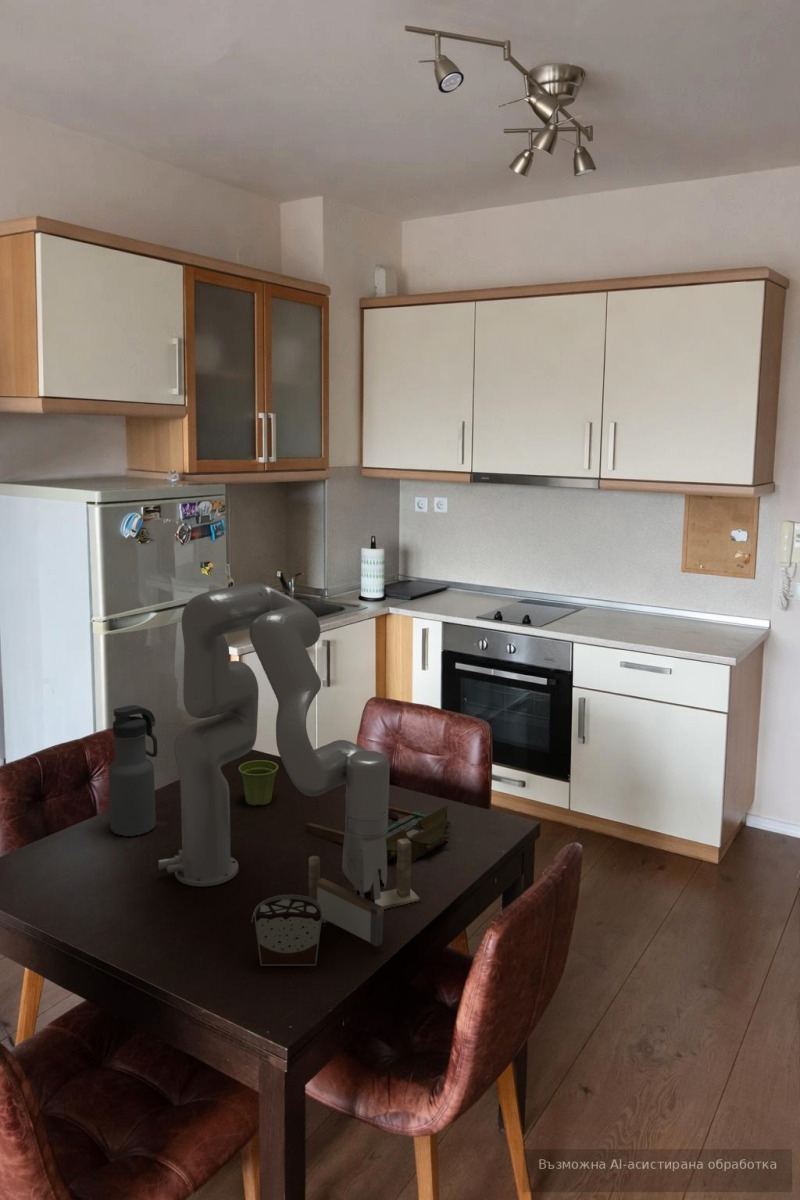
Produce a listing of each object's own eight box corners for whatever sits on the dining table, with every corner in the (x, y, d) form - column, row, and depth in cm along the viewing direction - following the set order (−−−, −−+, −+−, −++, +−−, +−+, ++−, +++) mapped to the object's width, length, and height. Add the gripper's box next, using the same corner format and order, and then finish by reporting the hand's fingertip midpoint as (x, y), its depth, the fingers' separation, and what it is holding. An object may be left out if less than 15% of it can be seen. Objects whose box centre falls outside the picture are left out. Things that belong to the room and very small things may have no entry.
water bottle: (143, 815, 213) (139, 698, 208) (165, 828, 207) (162, 708, 202) (102, 828, 206) (97, 707, 201) (124, 842, 200) (119, 718, 194)
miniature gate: (369, 786, 224) (473, 810, 206) (370, 808, 225) (474, 834, 207) (292, 823, 203) (400, 852, 185) (293, 846, 204) (402, 879, 186)
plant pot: (286, 799, 224) (286, 765, 223) (260, 812, 216) (260, 777, 215) (256, 790, 229) (256, 757, 227) (230, 803, 221) (230, 768, 220)
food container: (326, 945, 161) (327, 892, 160) (325, 965, 155) (325, 911, 153) (256, 945, 161) (255, 892, 159) (251, 965, 155) (251, 911, 153)
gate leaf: (315, 915, 169) (315, 880, 167) (321, 911, 170) (321, 877, 169) (377, 947, 159) (377, 910, 158) (383, 943, 160) (384, 907, 159)
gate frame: (297, 928, 166) (297, 868, 164) (289, 915, 171) (289, 856, 169) (419, 901, 177) (420, 844, 175) (408, 890, 181) (409, 833, 179)
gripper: (331, 808, 167) (329, 902, 170) (364, 843, 154) (361, 943, 157) (369, 802, 170) (367, 894, 174) (404, 835, 157) (401, 934, 160)
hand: (364, 917), depth 165 cm, fingers closed
